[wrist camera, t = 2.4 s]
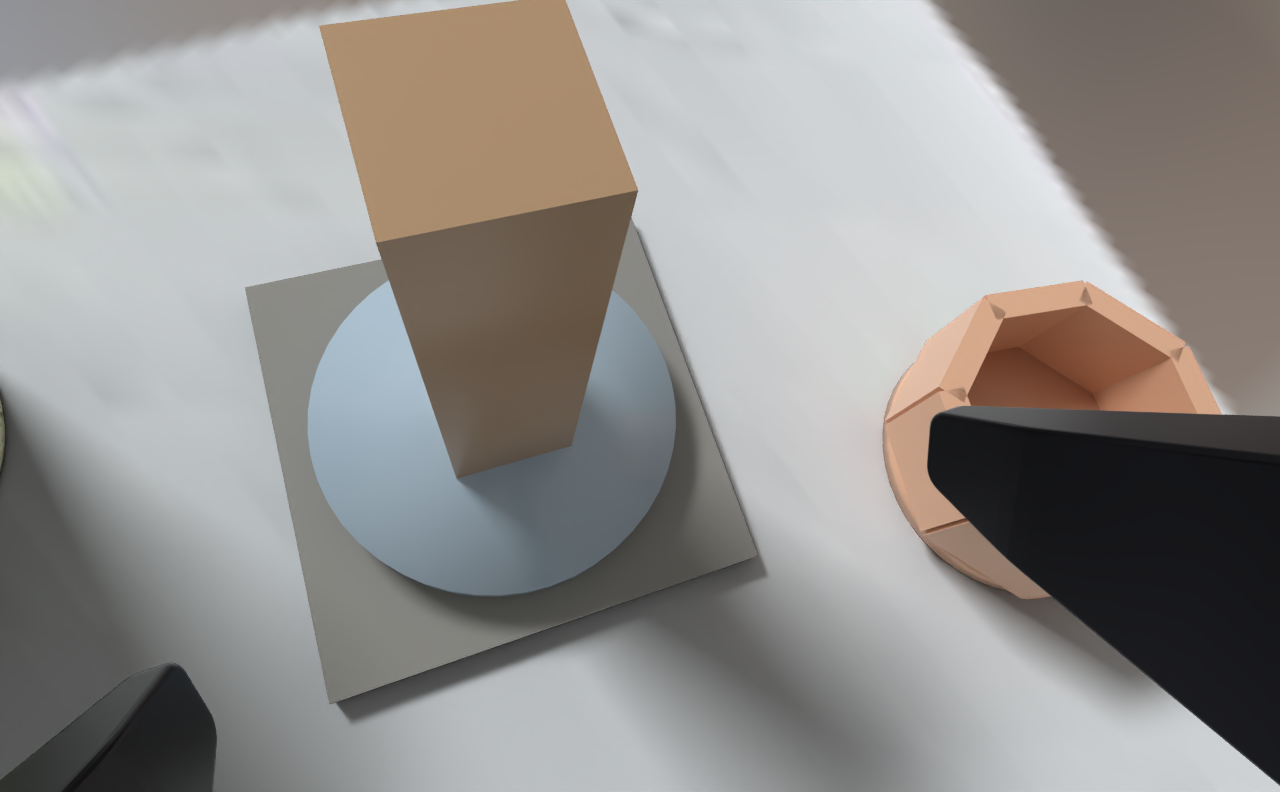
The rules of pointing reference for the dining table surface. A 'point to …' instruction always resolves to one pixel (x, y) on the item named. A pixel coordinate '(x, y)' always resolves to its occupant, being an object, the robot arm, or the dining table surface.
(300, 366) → the mat
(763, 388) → the dining table surface
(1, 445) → the coffee can
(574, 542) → the tan post on disc
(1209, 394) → the bowl
